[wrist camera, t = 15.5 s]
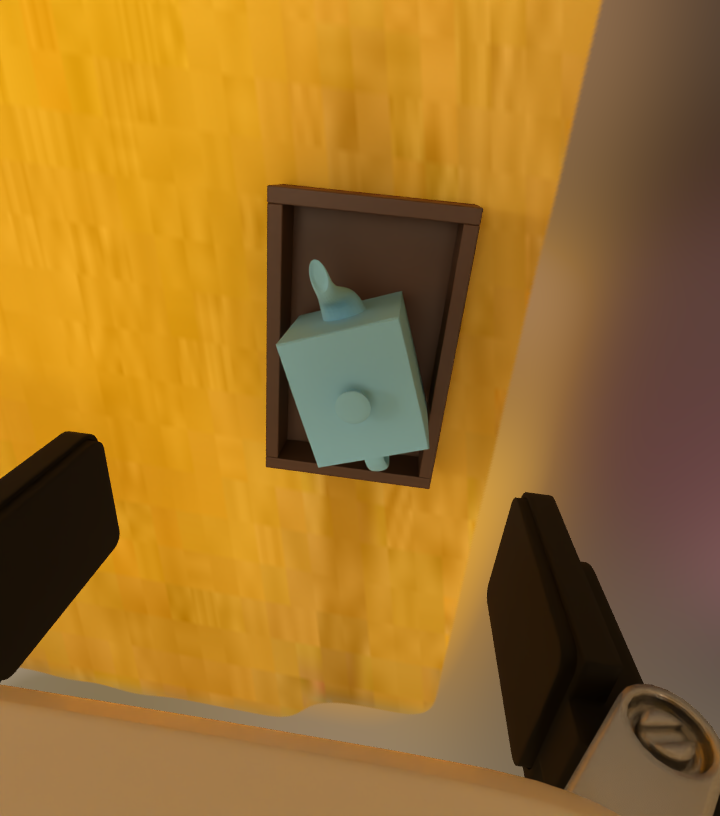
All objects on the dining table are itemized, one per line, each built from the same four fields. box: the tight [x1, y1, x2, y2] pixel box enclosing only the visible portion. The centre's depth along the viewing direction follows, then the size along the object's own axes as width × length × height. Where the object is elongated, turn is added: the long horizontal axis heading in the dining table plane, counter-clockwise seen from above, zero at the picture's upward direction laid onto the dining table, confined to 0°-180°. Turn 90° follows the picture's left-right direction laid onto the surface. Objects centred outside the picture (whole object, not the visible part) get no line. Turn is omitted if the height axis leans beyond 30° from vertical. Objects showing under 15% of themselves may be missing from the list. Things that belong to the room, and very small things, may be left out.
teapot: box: [276, 260, 429, 471], centre depth 26 cm, size 12×6×8 cm, turn 15°
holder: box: [266, 184, 483, 489], centre depth 28 cm, size 17×11×3 cm, turn 175°
